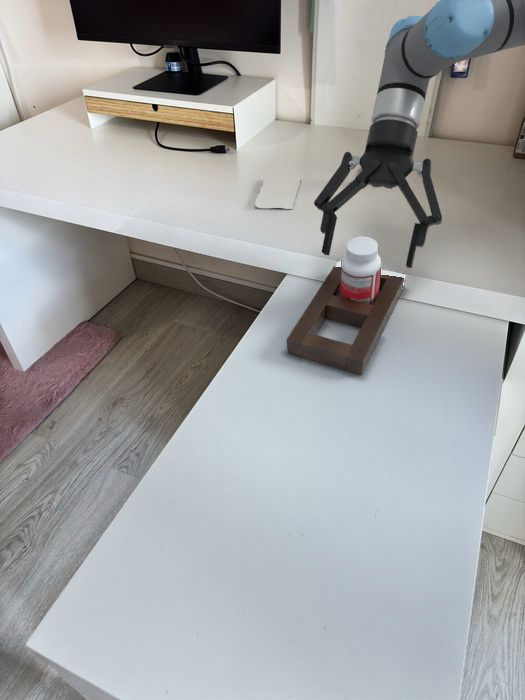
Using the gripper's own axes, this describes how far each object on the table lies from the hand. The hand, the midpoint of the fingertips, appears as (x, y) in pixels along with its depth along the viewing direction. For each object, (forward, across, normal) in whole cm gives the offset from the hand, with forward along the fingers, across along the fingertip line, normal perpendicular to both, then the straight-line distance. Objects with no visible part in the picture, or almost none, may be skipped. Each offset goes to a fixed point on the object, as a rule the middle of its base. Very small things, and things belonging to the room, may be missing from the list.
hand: (365, 260), depth 81 cm
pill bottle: (+7, 0, -2) cm, 7 cm away
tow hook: (-24, +6, -32) cm, 41 cm away
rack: (+10, 0, +2) cm, 10 cm away
